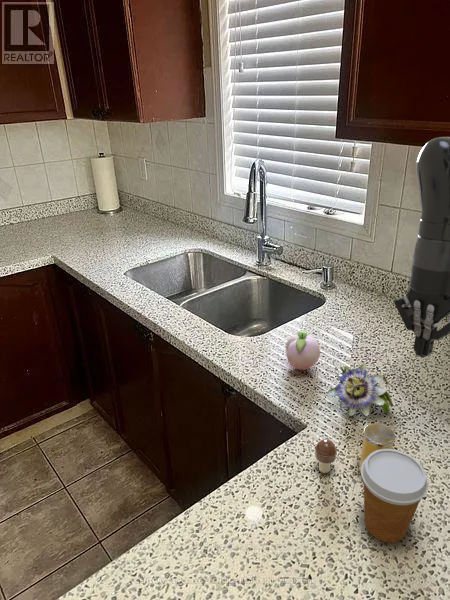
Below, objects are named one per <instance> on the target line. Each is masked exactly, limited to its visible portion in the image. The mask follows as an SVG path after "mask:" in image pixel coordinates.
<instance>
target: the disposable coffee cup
mask: <svg viewBox="0 0 450 600" xmlns="http://www.w3.org/2000/svg"><path fill="white" fill-rule="evenodd" d="M360 475H361V476H360V477H361V479H362V482H363V506H364V507H363V509H364V525H365V527H366V529H367V531H368V532H369V533H370V535H371V536H373V537H374V538H376V539H377V540H379V541H381V542H384V543H390V544H393V543H397V542H400V541H402V540H403V539H404V538H405V536H406V534H407V532H408V529H409V527H410V525H411V522H412V520H413V517H414V516H415V513H416V511H417V508H418V506H419V504H420V502H421V500H422V499H423V498H424V497H425V496H426V495H427V493H428V491H429V481H428V477H427V474H426V471H425V468H424V467H423V466H422V464H421V463H420V462H419V461H418V460H417V459H416V458H415V457H413V456H412V455H410V454H408V453H407V452H404V451H402V450H398V449H381V450H376V451H374V452H372V453H371V454H370V455H369V456H368V457H367V458H366V459H365V460H364V462H363V463H362V466H361V473H360Z"/></svg>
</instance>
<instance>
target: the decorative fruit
mask: <svg viewBox="0 0 450 600" xmlns="http://www.w3.org/2000/svg"><path fill="white" fill-rule="evenodd" d="M285 352H286V359H287V361H288V363H289V365H291V367H293V368H294V369H297V370H308V369H310V368H312V367H313V366H314V365H316V363H317V362H318V361H319V359H320V356H321V348H320V345H319V343H318V341H317V340H316V339H315V338H314V337H312V336H311V335H308V333H307V332H305V331H298V332H297V333H296V334H294V335H292V336H290V337H289V338H288V339H287V341H286V343H285Z"/></svg>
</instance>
